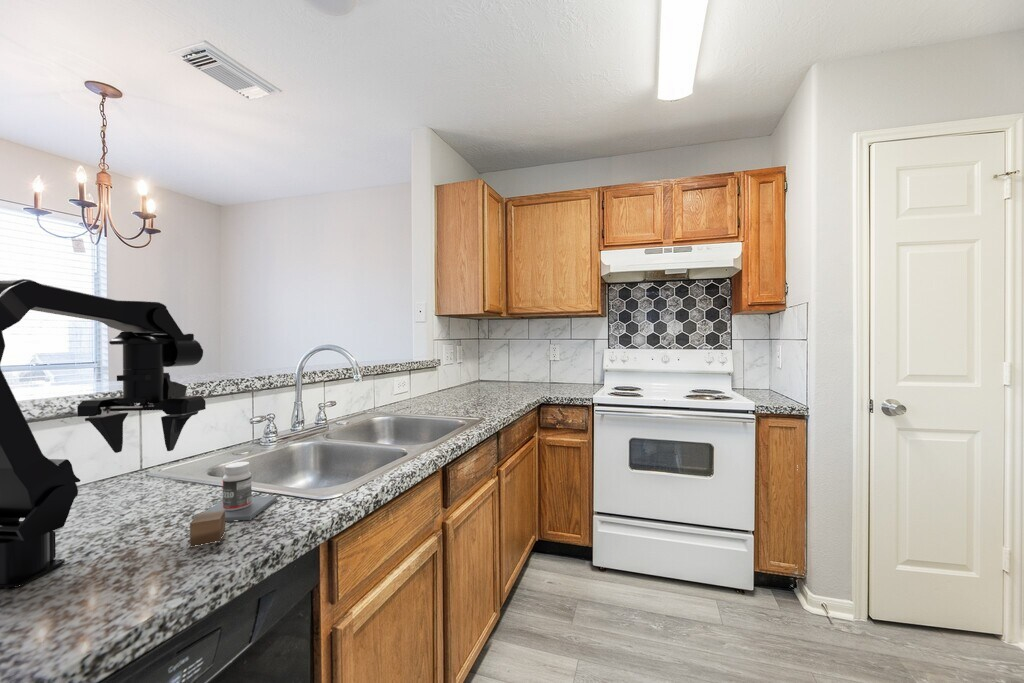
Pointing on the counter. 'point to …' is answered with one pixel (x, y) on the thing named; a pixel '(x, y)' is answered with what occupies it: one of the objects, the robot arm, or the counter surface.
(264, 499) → the coaster
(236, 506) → the pill bottle
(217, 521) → the walnut block
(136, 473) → the counter surface
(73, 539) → the counter surface
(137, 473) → the counter surface
